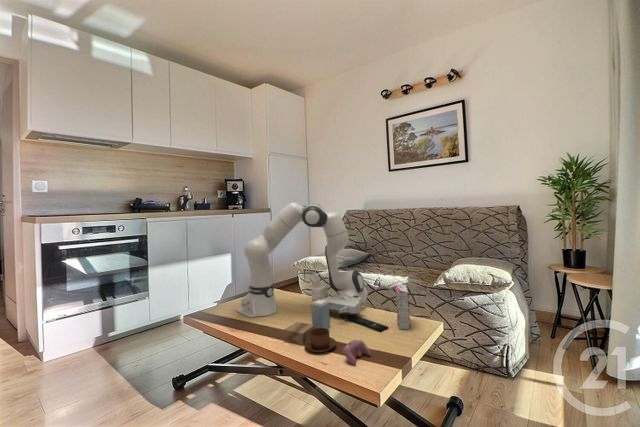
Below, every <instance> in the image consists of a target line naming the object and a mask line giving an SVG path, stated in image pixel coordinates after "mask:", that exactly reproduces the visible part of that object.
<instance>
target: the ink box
mask: <svg viewBox="0 0 640 427" xmlns="http://www.w3.org/2000/svg"><path fill="white" fill-rule="evenodd" d="M328 287H329V285H324V284H321V279H317V280H314V281H312V282H311V300H312V301H311V304H313V302H315V301H317V300H321V299H323V298H326V297H329V289H328Z"/></svg>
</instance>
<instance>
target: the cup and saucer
mask: <svg viewBox="0 0 640 427" xmlns="http://www.w3.org/2000/svg"><path fill="white" fill-rule="evenodd" d="M336 344H337V341H336V340H335V339H334V338H333V337H330V330H329V328H328V329H325V328H316V329H313V330H311V331H310V337H308V338H307V339H306V341H305V345H304V347H305V348H306V350H308V351H311V352H312V353H325V352H328V351H330V350H332V349H334V347H335V346H336Z"/></svg>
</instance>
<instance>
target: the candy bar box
mask: <svg viewBox="0 0 640 427" xmlns="http://www.w3.org/2000/svg"><path fill="white" fill-rule="evenodd" d="M395 298H396V315H397V316H396V317H397V319H396V320H397V326H398V329H399V330H402V329H403V330H404V329H410V330H411V320H410V317H411V316H410V303H409V290H408V286H407V284H395Z"/></svg>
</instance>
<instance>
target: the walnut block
mask: <svg viewBox="0 0 640 427" xmlns="http://www.w3.org/2000/svg"><path fill="white" fill-rule="evenodd" d="M313 329H315V325H312V324H310V323H304V322H300V321H296V322H294V323H292V324H290V325H289V326H288V327H286V328H284V329H283V331H284V336H283V338H284V342H287V343H291V344H295V345H300V346H305V341H306V339H307V338H308V337H310V331H311V330H313Z"/></svg>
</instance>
